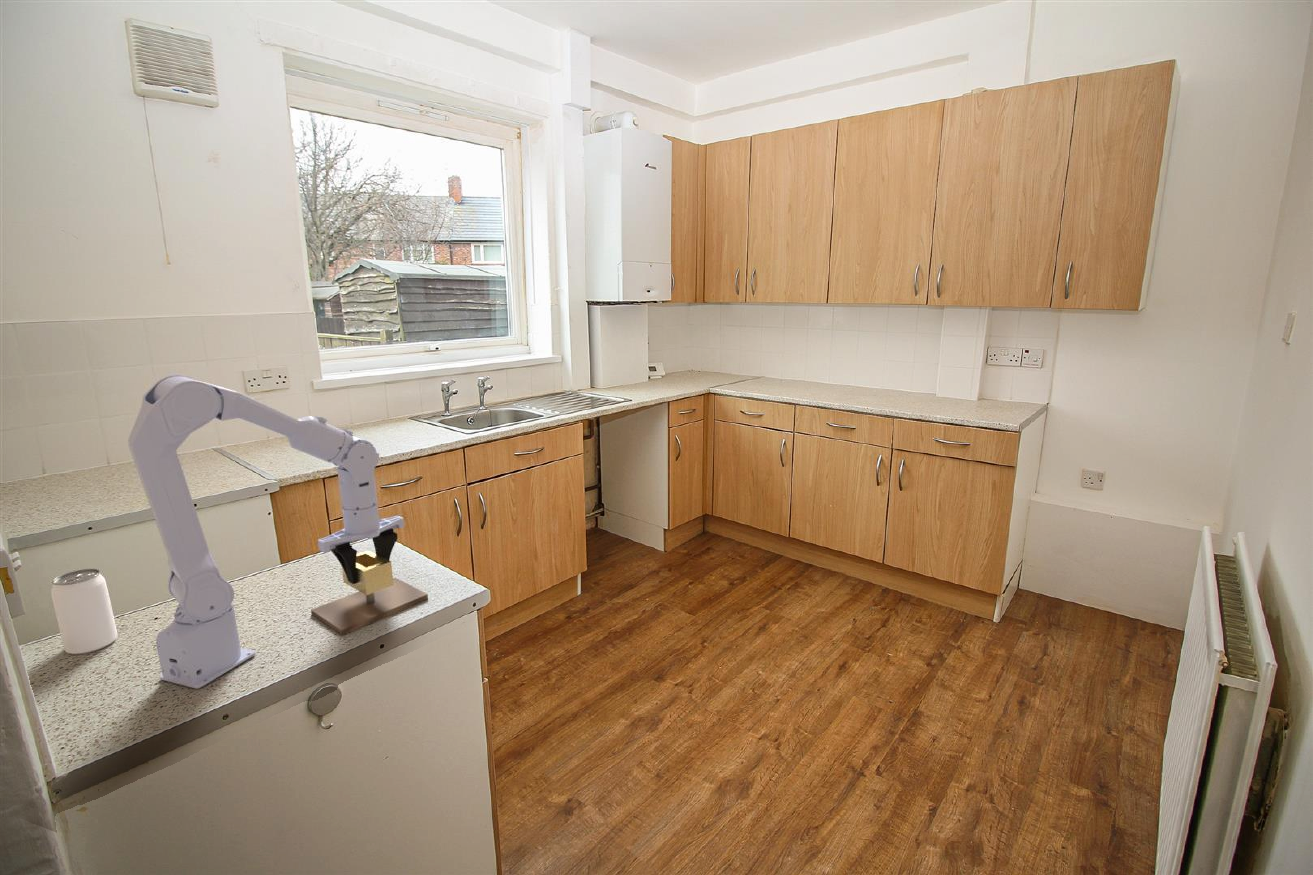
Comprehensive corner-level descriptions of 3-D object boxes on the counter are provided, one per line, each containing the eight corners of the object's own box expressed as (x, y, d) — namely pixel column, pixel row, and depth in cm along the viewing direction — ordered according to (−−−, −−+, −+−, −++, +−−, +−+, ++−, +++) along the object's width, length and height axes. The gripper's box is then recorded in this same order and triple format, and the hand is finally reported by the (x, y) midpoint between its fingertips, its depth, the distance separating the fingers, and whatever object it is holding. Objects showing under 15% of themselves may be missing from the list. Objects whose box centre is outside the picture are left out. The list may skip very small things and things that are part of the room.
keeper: (342, 635, 104) (338, 604, 103) (311, 614, 111) (307, 585, 109) (428, 599, 117) (425, 570, 115) (395, 582, 123) (393, 555, 122)
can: (128, 634, 104) (114, 568, 102) (90, 657, 98) (74, 586, 95) (93, 632, 105) (78, 566, 102) (53, 654, 99) (36, 584, 96)
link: (393, 584, 112) (391, 561, 111) (366, 595, 108) (363, 571, 107) (370, 572, 117) (367, 550, 116) (343, 582, 113) (340, 559, 112)
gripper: (328, 521, 101) (338, 598, 104) (410, 498, 112) (417, 568, 116) (308, 512, 105) (318, 586, 109) (389, 490, 117) (396, 558, 120)
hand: (368, 576), depth 112 cm, fingers closed on link, 5 cm apart
